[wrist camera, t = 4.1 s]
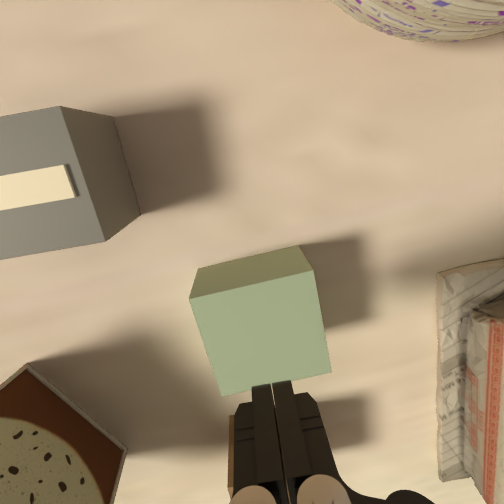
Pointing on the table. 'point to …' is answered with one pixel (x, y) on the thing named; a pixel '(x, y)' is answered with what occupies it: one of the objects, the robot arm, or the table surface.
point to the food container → (53, 447)
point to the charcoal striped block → (61, 181)
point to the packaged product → (471, 376)
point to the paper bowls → (429, 18)
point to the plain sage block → (260, 320)
